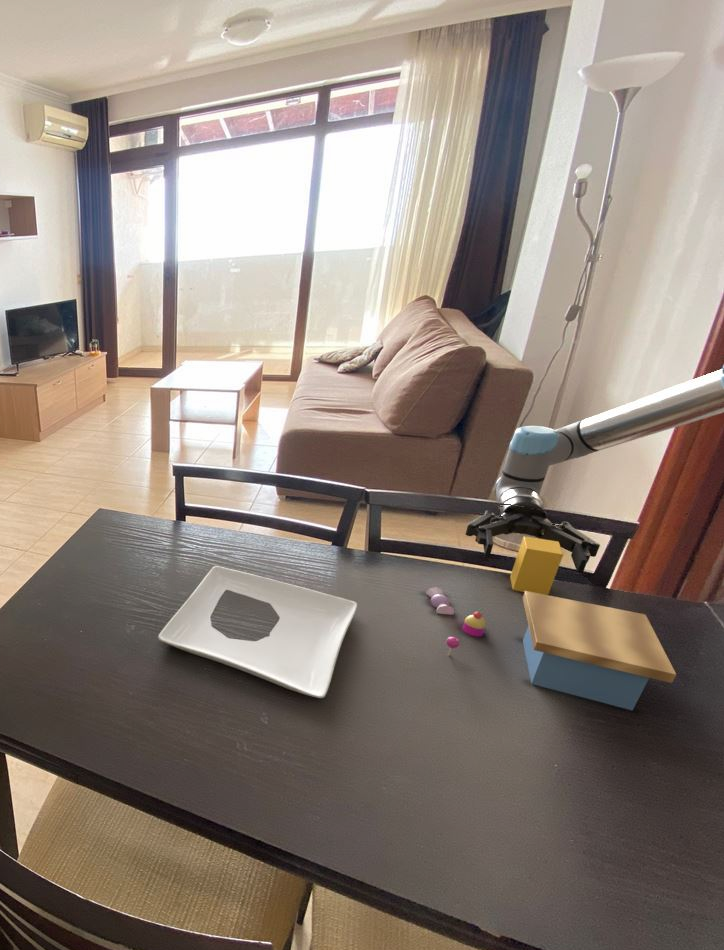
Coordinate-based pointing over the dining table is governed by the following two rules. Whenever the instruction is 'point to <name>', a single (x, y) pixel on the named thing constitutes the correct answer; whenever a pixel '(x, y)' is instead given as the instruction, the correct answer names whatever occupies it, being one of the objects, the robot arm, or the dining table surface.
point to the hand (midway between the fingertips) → (534, 558)
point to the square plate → (290, 642)
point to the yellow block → (536, 565)
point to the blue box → (583, 678)
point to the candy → (472, 623)
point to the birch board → (596, 635)
